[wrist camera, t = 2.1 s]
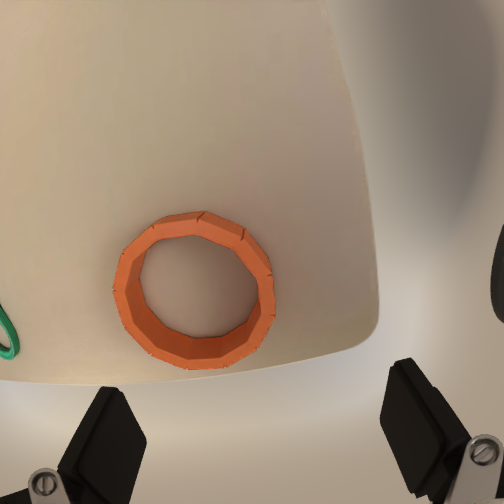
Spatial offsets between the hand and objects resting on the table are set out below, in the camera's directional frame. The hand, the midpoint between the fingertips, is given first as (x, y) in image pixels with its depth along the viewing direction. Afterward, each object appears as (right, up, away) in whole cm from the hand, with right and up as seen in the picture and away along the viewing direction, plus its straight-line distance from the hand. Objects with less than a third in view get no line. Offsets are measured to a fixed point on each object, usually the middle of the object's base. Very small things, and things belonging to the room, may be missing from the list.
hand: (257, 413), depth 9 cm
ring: (-4, +3, +13) cm, 14 cm away
